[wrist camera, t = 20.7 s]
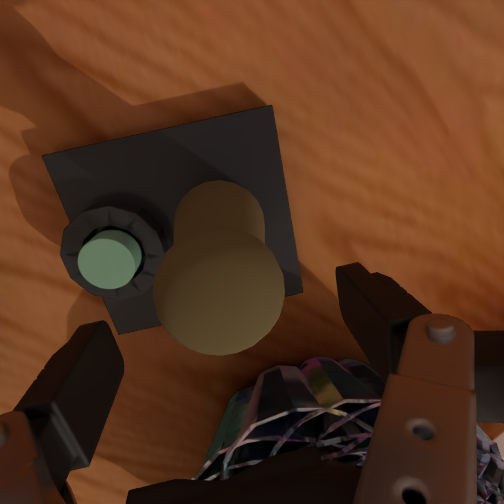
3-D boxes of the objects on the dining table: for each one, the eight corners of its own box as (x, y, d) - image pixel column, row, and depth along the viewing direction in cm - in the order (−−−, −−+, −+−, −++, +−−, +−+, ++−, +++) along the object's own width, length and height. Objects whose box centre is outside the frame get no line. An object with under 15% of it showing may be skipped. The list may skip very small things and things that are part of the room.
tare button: (99, 281, 21) (89, 294, 20) (80, 235, 20) (67, 245, 18) (148, 270, 21) (142, 282, 20) (131, 224, 20) (124, 232, 18)
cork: (154, 215, 21) (93, 298, 11) (230, 160, 20) (242, 194, 10) (210, 283, 23) (203, 405, 13) (281, 235, 22) (333, 326, 12)
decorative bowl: (213, 530, 38) (213, 663, 29) (143, 351, 26) (106, 484, 17) (427, 486, 39) (490, 603, 30) (455, 292, 27) (576, 390, 18)
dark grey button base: (116, 326, 25) (103, 351, 23) (43, 155, 21) (16, 160, 18) (299, 284, 26) (309, 303, 23) (269, 105, 21) (276, 102, 18)
